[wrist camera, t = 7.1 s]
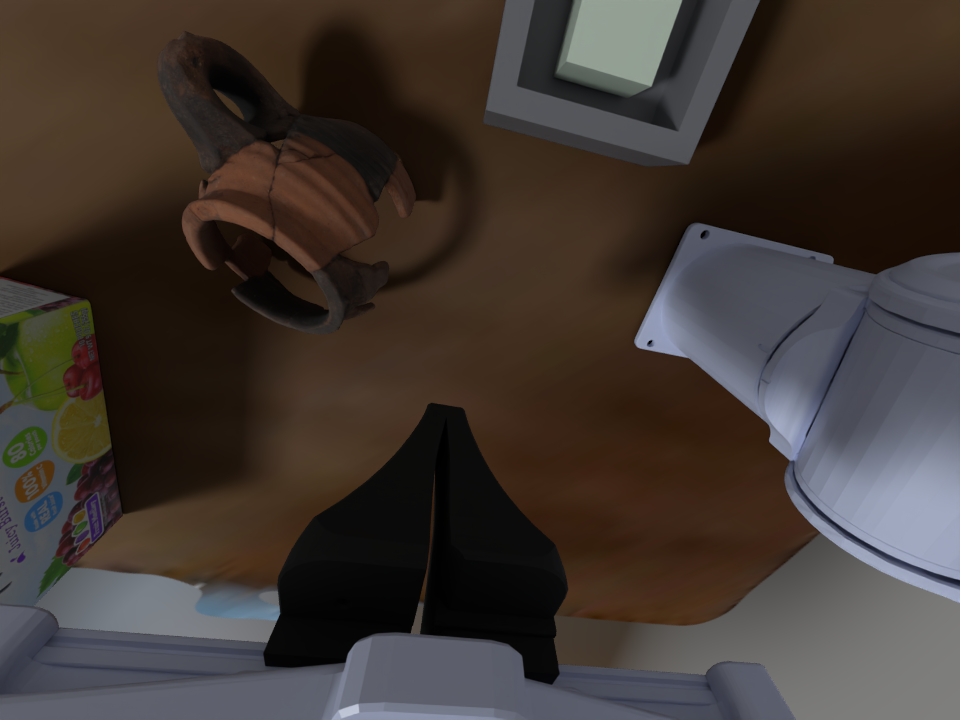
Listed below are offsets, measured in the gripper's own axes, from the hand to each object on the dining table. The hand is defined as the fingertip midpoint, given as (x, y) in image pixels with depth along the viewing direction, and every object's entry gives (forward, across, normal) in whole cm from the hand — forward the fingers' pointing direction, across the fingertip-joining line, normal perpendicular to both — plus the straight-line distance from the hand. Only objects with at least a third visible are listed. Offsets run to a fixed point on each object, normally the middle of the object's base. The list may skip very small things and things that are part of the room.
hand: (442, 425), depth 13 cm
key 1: (+9, -4, -15) cm, 18 cm away
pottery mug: (+11, +8, -6) cm, 15 cm away
